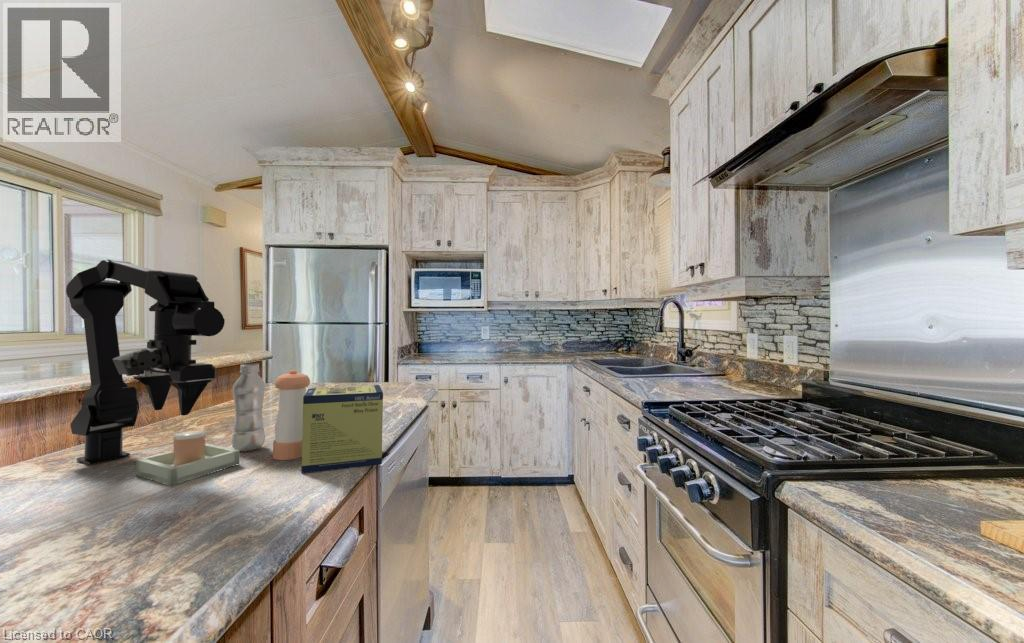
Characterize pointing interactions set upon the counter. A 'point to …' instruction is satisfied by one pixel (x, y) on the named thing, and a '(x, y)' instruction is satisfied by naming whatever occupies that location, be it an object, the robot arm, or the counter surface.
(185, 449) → the spice pot
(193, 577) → the counter surface
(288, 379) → the pepper shaker
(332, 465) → the protein box
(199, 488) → the counter surface
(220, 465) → the tray
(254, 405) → the plastic bottle
